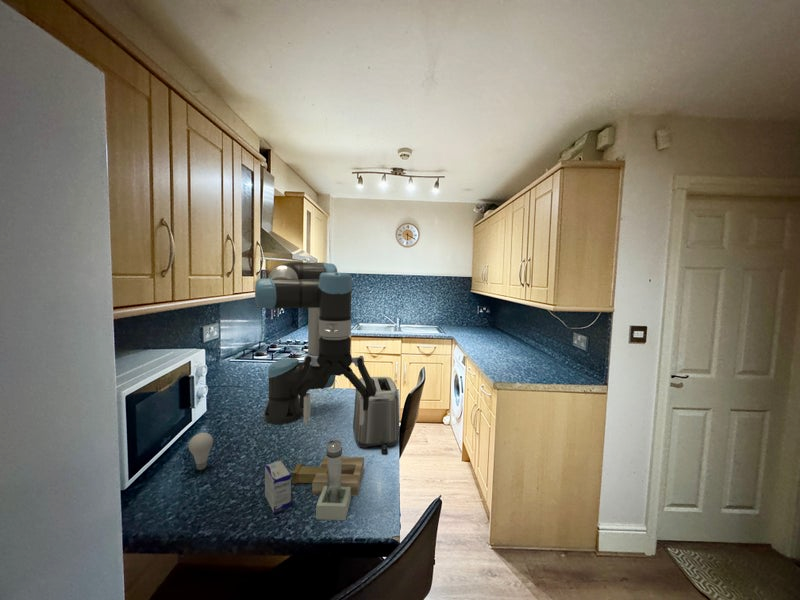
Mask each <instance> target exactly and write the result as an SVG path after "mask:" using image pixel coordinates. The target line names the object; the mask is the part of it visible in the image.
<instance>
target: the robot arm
mask: <svg viewBox="0 0 800 600" xmlns="http://www.w3.org/2000/svg"><path fill="white" fill-rule="evenodd" d="M352 290H353V285H352V276H351V274H350V273H348V272H338V269H337V266H336V265H335V264H334V263H330V262H329V263H328V262H327V263H326V262H312V261H311V262H310V261H307V262H305V261H304V262H303V261H302V262H301V261H293V262H291V261H290V262H287V263H283V264H280V265H277V266H276V267H274V268H273V269H272V270H271V271H270V273H269V276H268V277H267V278H258V279H256V281H255V284H254V298H255V299H254V300H255V304H256V306H257V308H259V309H271V310H273V309H308V311H307V312H308V318H307V319H308V322H307V323H308V324H307V325H308V327H307V331H308V333H307V334H308V335H307V336H308V337H307V355H305V356H304V359H303V361H300V360H299V358H296V357H293V358H292V357H289V358H284V359H279V360H276V361H274V362H272V363H270V364H269V367H268V374H267V378H268V400H267V403H266V406H265V410H264V411H263V412H264V413H263V420H264V421H265V422H266V423H268V424H271V425H284V424H289V423H293V422H295V421H298V420H299V419H301V418H302V417H303V424H307V423H308V422H309V421H310V419H311V392H309V391H310V390H319V389H320V390H324V389H329V388H332V387H333V385H334V383H335V380H336V376H338V377H339V376H344V377H345V378H346V379H348V381H349V383H351V384H352V386H353V387H354V388H355V390H356V389H357V390H358V392H359V393H360V394H361V398H360V425H363V422H364V411H367V410H368V407H369V397H370V396H375V394H376V388H375V386H374V383H373V381H372V379H371V377H372V376H371V375H370V373H369V372H368V369H367V368H366V365H365V359H364V356H363V355H360V356H357V357H352V354H351V351H352V350H351V349H352V348H351V347H352V345H351V344H352V343H351V342H352V339H351V337H350V336H351V335H352ZM352 364H354V366H355V367H357V369H358V371H359V374H360V376H361V378H363V380H364V382H365V384H366V386H367V388H368V390H367V388H366V387H365V386H364V385H363V384H362V382H361V381H360V380H359V379H360V378H359V377H358V376H357V375H356V374H355V373H354V372H353V371H354V370H353V369H352V368H351V365H352Z"/></svg>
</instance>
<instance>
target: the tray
mask: <svg viewBox="0 0 800 600" xmlns="http://www.w3.org/2000/svg"><path fill="white" fill-rule="evenodd" d="M351 500H352V496H351V487H341V503H327V486H324V487H323V490H322V492H321V495H319V497H318V500H317V503H316V506H315V511H316V512H315V513H316V514H315V519H316V520H321V521H322V520H323V521H324V520H326V521H327V520H328V521H346V520H347V515H348V512H349V508H350V504H351Z"/></svg>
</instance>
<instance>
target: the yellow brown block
mask: <svg viewBox="0 0 800 600" xmlns="http://www.w3.org/2000/svg"><path fill="white" fill-rule="evenodd" d="M316 473H324V474H327V467H321V466H310V465H309V466H307V465H306V466H305V465H303V463H302V462H297V464H296V466H295V467H294V469H293V471H292V473H291V485H292V484H293V485H298V484H312V482H313V480H314V478H315V475H316Z"/></svg>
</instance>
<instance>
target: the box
mask: <svg viewBox="0 0 800 600" xmlns="http://www.w3.org/2000/svg"><path fill="white" fill-rule="evenodd" d="M264 497H265V499H266V501H267V503H268V505H269V506H270V508H271V510H272V512H273V514H276V513H279V512H282V511H283V510H285V509H288V508H289V507H291V506H292V473H291V472H290V471H289V469H288V467H287V466H286V464H285V463H284V462H283V460H278V461H274V462H272V463H268V464H266V465H264Z"/></svg>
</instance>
